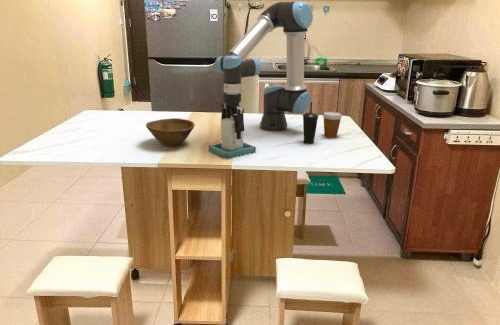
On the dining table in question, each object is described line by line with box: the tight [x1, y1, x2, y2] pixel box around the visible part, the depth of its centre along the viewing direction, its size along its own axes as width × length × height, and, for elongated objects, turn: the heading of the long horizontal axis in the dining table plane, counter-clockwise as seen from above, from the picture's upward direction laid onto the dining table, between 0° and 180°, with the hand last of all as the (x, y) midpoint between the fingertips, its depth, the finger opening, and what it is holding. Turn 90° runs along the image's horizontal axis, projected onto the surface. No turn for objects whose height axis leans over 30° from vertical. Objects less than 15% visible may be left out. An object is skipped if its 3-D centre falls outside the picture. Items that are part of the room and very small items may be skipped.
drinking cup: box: [302, 101, 319, 145], centre depth 196 cm, size 8×8×20 cm
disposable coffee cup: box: [322, 111, 343, 139], centre depth 208 cm, size 10×10×12 cm
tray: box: [208, 141, 257, 160], centre depth 183 cm, size 14×16×3 cm
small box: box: [220, 116, 244, 150], centre depth 181 cm, size 8×6×13 cm
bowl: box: [145, 117, 195, 147], centre depth 192 cm, size 22×23×10 cm
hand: (232, 143), depth 183 cm, fingers closed on small box, 7 cm apart
